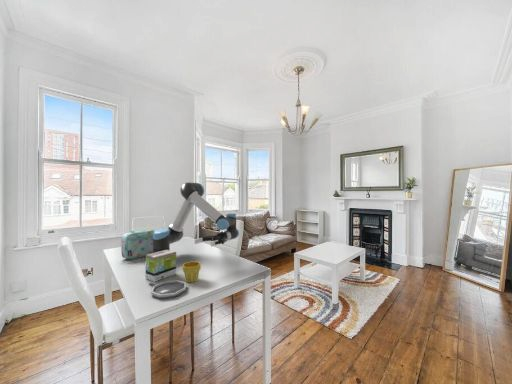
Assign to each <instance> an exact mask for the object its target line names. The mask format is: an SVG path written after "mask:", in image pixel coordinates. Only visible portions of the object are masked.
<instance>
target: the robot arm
mask: <svg viewBox="0 0 512 384" xmlns="http://www.w3.org/2000/svg"><path fill="white" fill-rule="evenodd" d="M179 192H180V195H181V196H182V197H183V198H184V199H183V201H182V203H181V205H180V206H179V210H178V212H177V213H176V216H175V218H174V220H173V222H172V223H170V224H169V225H168V228H159V229H156V230H154V233H153V253H155V252H159V251H163V250H171V249H170V248H171V247H170V245H171V244H175V243H177V242H179V241H180V240H181V239H182V238H183V237H184V228H183V227H184V225H185V224H186V222H187V220H188V217H189V215H190V213H191V211H192V209H193V207H194V206H195V207H196V208H197V209H199V210H200V211H201V212H202V213H203V214H205V216H206V217H208V218H209V219H211V220H212V222H214V223H215V224H216V227H217V229H218V230H221V231H220V232H218V233H217V234H216V235H206V236H200V237H199V238H196V239H194V245H197V244H201V243H203V242H210V248H211V247H214V246H217V245H224V244H225V243H227V242H229V241H231V240H235V239H237V238H238V237H239V235H240V231H239V229H238V228H237V213H227V214H225V215H226V216H224V214H222V213H221V212H220V211H219V210H218V209H216V208H215V207H214V206H213V205H212V204H211V203H209V202H208V201H207V200H206V199H205V198H203V196H204V194H205V188H204V185H202V184H201V183H198V182H185V183H183V184H182V185H181V187H180V189H179Z"/></svg>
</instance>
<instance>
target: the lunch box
mask: <svg viewBox="0 0 512 384" xmlns="http://www.w3.org/2000/svg"><path fill="white" fill-rule="evenodd" d="M154 231H155V230H153V229H151V230H150V229H145V230H143V229H142V230H136V231H134V230H132V231H130V232H125V233H124V234H122V236H121V238H120V247H121V252H120V253H121V257H122V258H123V259H128V260H136V259H141V258H145V257H146V255H147V254H151V253H153V233H154Z"/></svg>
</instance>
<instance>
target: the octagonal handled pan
mask: <svg viewBox="0 0 512 384" xmlns="http://www.w3.org/2000/svg"><path fill="white" fill-rule="evenodd" d="M148 285H149V286H150V287H152V288H151V291H150V294H151V296H152V297H153V298H154V299H158V300H168V299H174V298H177V297H179V296H182V294H185V292H186V290H187V282H186V281H182V280H178V279H175V280H174V279H173V280H166V281H165V280H164V281H163V282H160V283H157V284H156V283H153V282H150V283H148Z"/></svg>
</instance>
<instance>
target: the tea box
mask: <svg viewBox="0 0 512 384" xmlns="http://www.w3.org/2000/svg"><path fill="white" fill-rule="evenodd" d="M144 273H145V274H144V275H145V277H144V278H145V279H146V280H148V281H151V282H152V283H153V282H154V283H156V282H158V281H160V280H163V279H166V278H169V277H172V276H174V275H176V274H177V251H174V250H171V249H170V250H163V251H159V252H155V253H151V254H147V255H146V256H145V272H144Z"/></svg>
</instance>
